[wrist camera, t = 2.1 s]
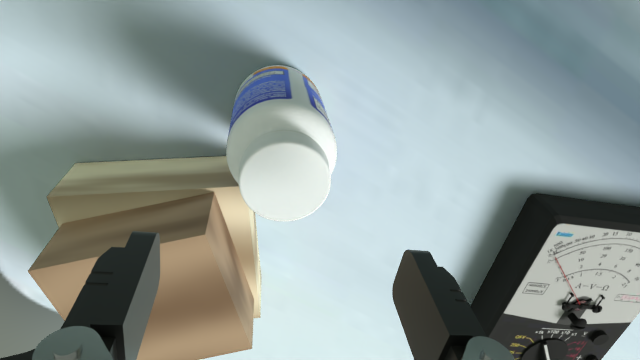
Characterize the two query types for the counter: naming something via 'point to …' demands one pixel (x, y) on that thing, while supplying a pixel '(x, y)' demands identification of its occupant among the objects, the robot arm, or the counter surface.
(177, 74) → the counter surface
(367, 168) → the counter surface
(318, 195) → the pill bottle
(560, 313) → the multimeter
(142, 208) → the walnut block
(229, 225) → the beech block
